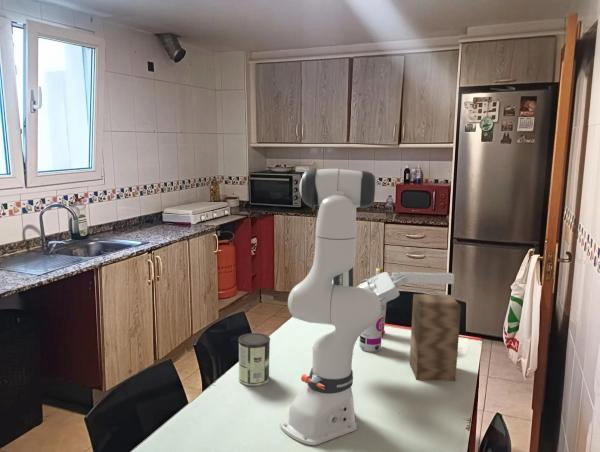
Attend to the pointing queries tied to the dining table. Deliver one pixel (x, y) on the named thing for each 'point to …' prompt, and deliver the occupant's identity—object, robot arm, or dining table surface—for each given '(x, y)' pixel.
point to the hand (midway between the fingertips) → (405, 276)
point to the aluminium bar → (425, 277)
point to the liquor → (383, 306)
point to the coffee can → (254, 359)
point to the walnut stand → (434, 337)
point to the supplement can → (372, 337)
